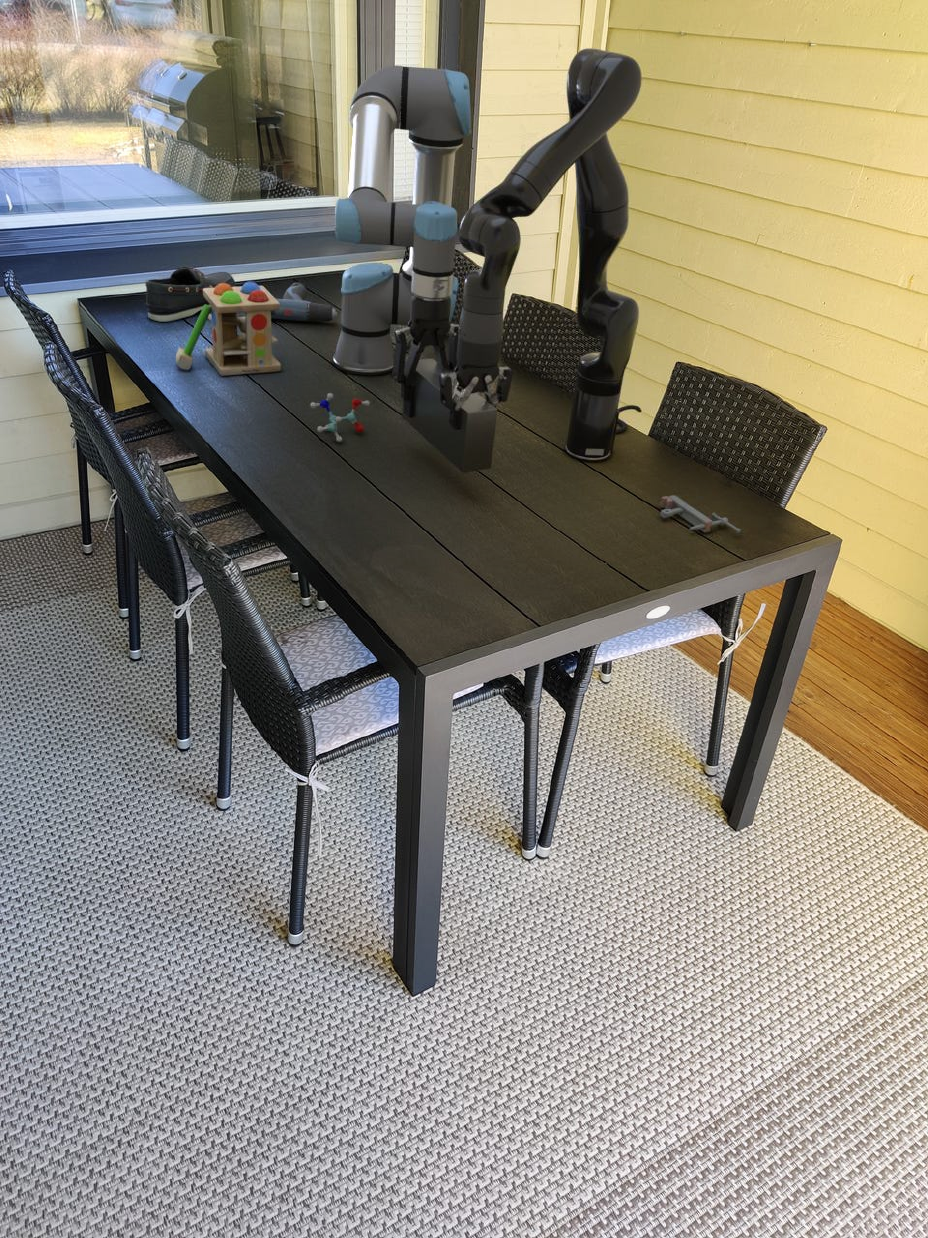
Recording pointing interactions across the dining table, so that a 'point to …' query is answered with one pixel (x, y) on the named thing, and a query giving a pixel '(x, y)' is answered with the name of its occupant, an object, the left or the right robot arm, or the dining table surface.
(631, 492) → the dining table surface
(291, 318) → the power drill
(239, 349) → the pounding bench toy
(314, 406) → the molecular model
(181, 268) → the boat shoe
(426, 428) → the box
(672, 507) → the clamp
